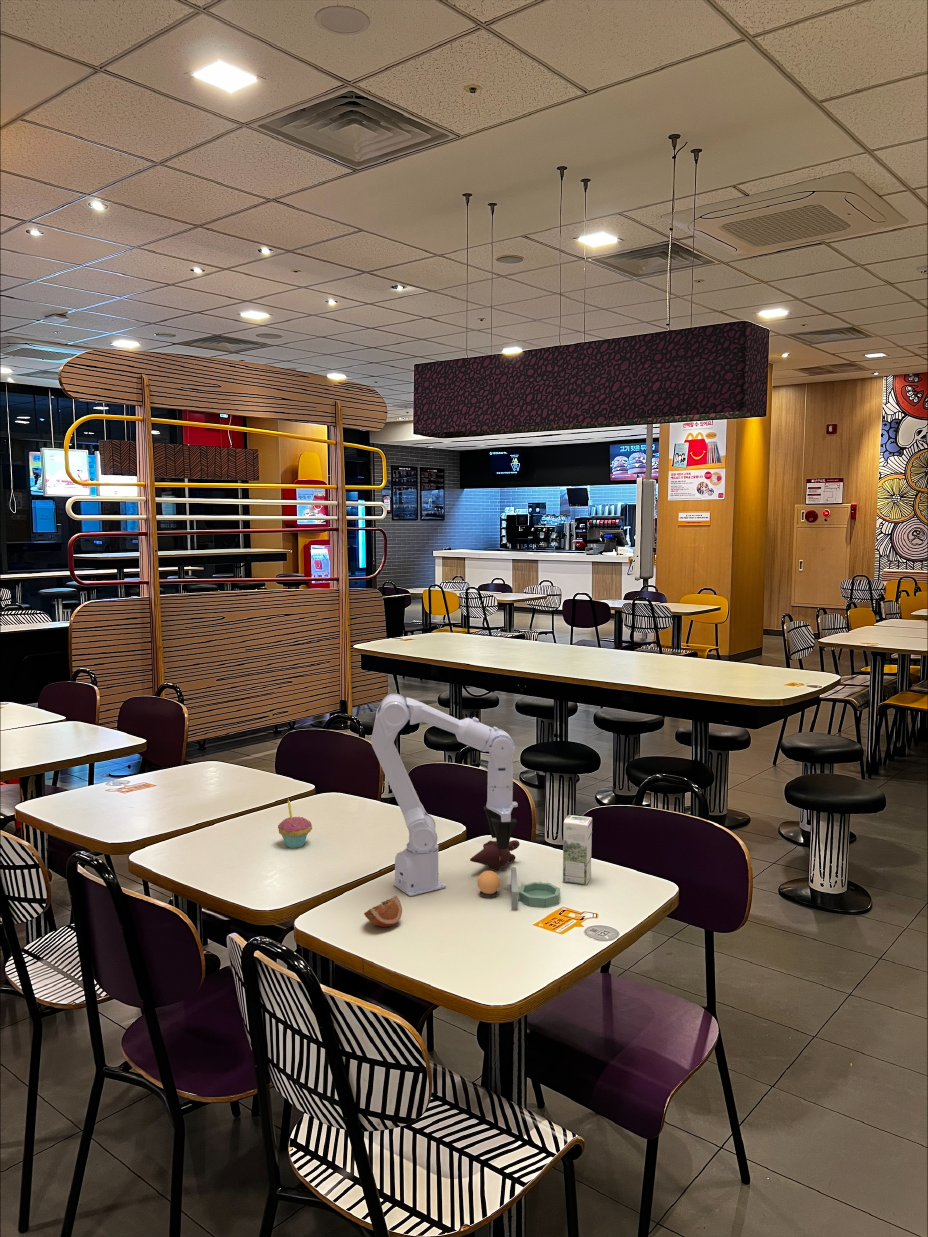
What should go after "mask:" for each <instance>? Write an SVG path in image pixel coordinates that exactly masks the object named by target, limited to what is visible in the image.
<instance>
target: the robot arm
mask: <svg viewBox="0 0 928 1237" xmlns="http://www.w3.org/2000/svg"><path fill="white" fill-rule="evenodd" d="M375 714H376V715H375V720H374V723H373V724H374V725H373V728H372V729H373V730H372V734H371V739H370V740H371V741H370V743H371V747H372V749H373V751H374V754H375V755H376V757H377V760H378V762H379V764H380V766H381V769H382V771H383V773H384V775H385V778H386V780H387V782H388V784H389V787H390V788H391V791H392V793H393V796H394V797H395V800H396V802H397V804H398V807H399V809H400V810H401V812H402V815H403V819H404V822H405V825H406V828H407V830H408V842H407V843H406V848H405V849H403V850H402V851H400V852H398V853H396V855H395V860H394V882H393V886H395V887H396V888H397V889H399V890H400V891H402V892H403V893H404V894H406V895H407V896H409V897H413V896H417V895H421V894H425V893H428V892H432V891H437V890H441V889H445V888H446V887H447V884H445V883H443V882H442V881H440V880H439V843H438V833H437V832H436V821H435V819H434V818H433V817H432V815H430V814H428V812H427V811H426V809H425V808H424V805H423V804H422V802H421V801H420V798H419V795H418V794H417V791H416V789H415V788H414V785H413V782H412V781H411V778H410V776H409V774H408V771H407V768H406V767H405V765H404V762H403V760H402V758H401V756H400V753H399V751H398V748H397V747H396V745H395V740H396V738H397V736H398V734H399V732H400V731H401V730H402V729H403V728H404V727H405V725H406V724H407V723H408V722H409V725H410V726H411V725H416V724H419V723H424V724H428V725H431V726H433V727H436V728H439V729H441V730H444V731H447V732H449V733H452V734H454V735H455V737H456V739H457V741H458V742H459V743H462V744H463V745H466V746H469V747H471V748H474V749H477V750H479V751H480V752H484V753H486V752H488V763H487V791H486V792H487V796H486V798H487V799H486V800H487V801H486V805H485V806H483V809H484V812H485V815H486V817H487V820H488V825H489V831H490V835H491V836H490V837H491V838H492V839H495V841H497V847H498V849H499V850H502V849H508V845H509V842H510V841H511V840H510V839H511V837H512V833H513V831H514V829H515V826H516V825H517V822H518V820H517V819H516V818H512V815H511V814H512V812H513V808H517V807H519V806H518V802H517V801H513V797H514V796H513V795H514V794H513V792H514V790H513V789H514V788H513V787H514V782H513V781H514V778H513V777H514V764H513V760H514V759H513V756H514V754H515V752H516V748H517V747H515V742H514V740H513V739H512V737H511V735H510V734H509V733H507V732H506V731H504V729H502V728H498V727H497V726H493V727H491V726H489V725H486V724H484V723H482V722H480V720H479V718H477V717H476V716H474V717H472V718H471V717H465V718H462V719H458V718H456V717H453V716H452V715H449V714H447V713H445V712H443V711H441V710H439V709H437V708H434V707H432V706H431V705H427V704H426V703H424V702H422V701H420V700H417V699H414V698H412V697H406V698H405V697H404V696H403V695H402V694H399V693H390V694H388V695H386V696H385V697H384V698H383V699H382V700H381V702H380V704H379V706H378V707H377V709H376V713H375Z"/></svg>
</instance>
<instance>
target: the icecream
mask: <svg viewBox="0 0 928 1237" xmlns="http://www.w3.org/2000/svg"><path fill="white" fill-rule="evenodd" d="M520 845H521V843H520V841H518V840H517V839H515V840H514V839H513V840H510V841H509V845H508V849H502V850H499V849H498V847H497V841H496V840H489V841H487V842H485V843H483V845H482V847H483V848H482V849H481V850H480V851H479V852H477V853H475V854H474V855H473V856H472V857H471V858H469V862H473V863H478V864H481V865H484V866H487V867H488V869H490V870H492V871H494V872H495V871H499V870H500V869H501V868H504V867H506V866H507V864H508V863H512V862H514V861H515V860H516V858H517V857H516V855H514V854H512V853H511V852H512V851H514V850H517V849H518V848H519V846H520Z"/></svg>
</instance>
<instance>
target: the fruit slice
mask: <svg viewBox="0 0 928 1237" xmlns="http://www.w3.org/2000/svg"><path fill="white" fill-rule="evenodd" d="M363 915H364V917H365V918H367V920H368V921H369V922H370V923H371V924H373V925H374V926H377V927H381V928H386V927H387V928H388V927H391V926H393V925H395V924H397V923H398V922H399V921H400V920H401V918H402V915H403V907H402V904H401V901H400V899H399V897H398V896H397V895H395V896H392V897H391V898H389V899H386V900H385V901H381V902H380V904H378V905H375V906H373V907H371V908H369V909H368V910H367V911H365V912H364V913H363Z"/></svg>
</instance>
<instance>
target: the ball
mask: <svg viewBox="0 0 928 1237" xmlns="http://www.w3.org/2000/svg"><path fill="white" fill-rule="evenodd" d="M477 886H478V889H479V891H480V890H481V891H482V892H483V893H485V894H493V893H495V892H496V891H499V889H500V886H501V879H500V877H499V875H498V873H496V872H495V871H494V870H484V871H482V872H481V873H480V874H479V876H478V878H477Z"/></svg>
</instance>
